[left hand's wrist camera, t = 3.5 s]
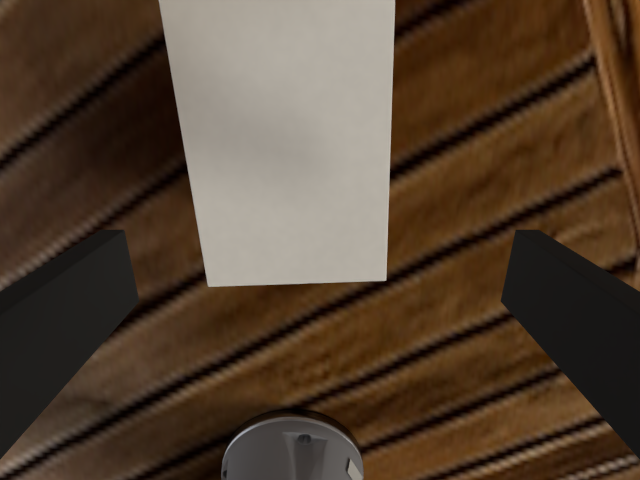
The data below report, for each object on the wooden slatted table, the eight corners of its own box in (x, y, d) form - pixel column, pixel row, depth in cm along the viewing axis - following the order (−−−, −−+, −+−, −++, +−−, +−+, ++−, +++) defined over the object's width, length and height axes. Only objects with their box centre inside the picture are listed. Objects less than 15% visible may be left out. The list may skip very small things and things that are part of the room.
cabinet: (214, -53, 23) (127, -177, 13) (364, -60, 23) (401, -191, 13) (247, 220, 30) (207, 287, 20) (363, 215, 30) (386, 281, 19)
